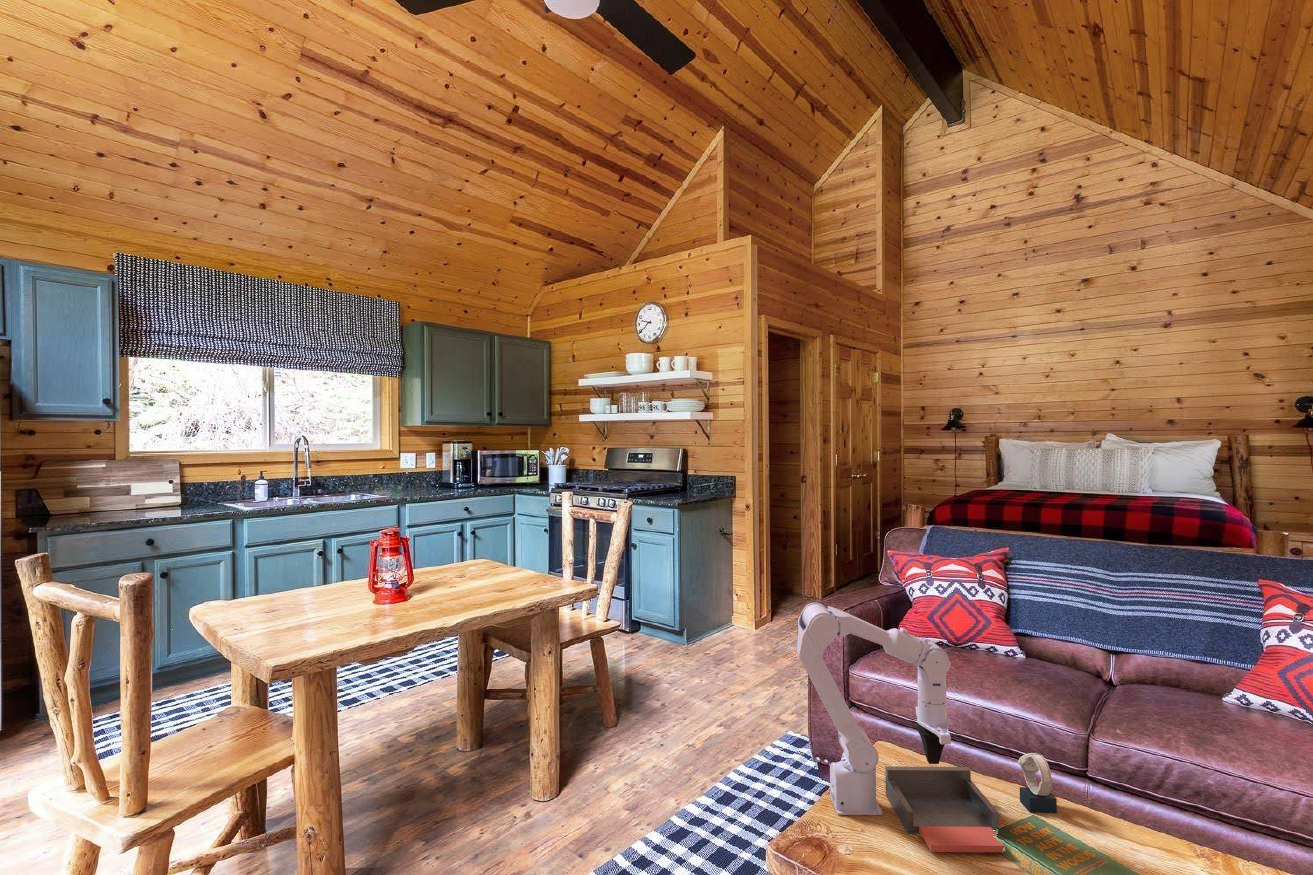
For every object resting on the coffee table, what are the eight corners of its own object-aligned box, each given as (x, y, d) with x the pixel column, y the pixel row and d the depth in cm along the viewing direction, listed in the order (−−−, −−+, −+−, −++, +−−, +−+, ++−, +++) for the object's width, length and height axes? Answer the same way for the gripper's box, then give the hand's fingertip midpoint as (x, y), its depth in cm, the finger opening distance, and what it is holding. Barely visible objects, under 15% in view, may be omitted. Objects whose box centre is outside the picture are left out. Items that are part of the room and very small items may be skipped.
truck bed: (907, 833, 130) (907, 801, 130) (885, 795, 144) (885, 766, 144) (998, 834, 129) (998, 802, 130) (967, 796, 144) (967, 766, 144)
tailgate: (919, 834, 129) (930, 853, 123) (919, 826, 129) (930, 845, 123) (990, 835, 129) (1005, 854, 123) (990, 826, 129) (1005, 845, 123)
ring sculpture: (1041, 796, 143) (1040, 747, 143) (1061, 818, 135) (1060, 765, 135) (1014, 796, 143) (1014, 746, 143) (1033, 817, 135) (1032, 764, 135)
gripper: (965, 713, 133) (966, 780, 133) (937, 686, 147) (938, 746, 147) (930, 713, 133) (931, 779, 133) (906, 686, 147) (907, 746, 147)
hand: (932, 762), depth 140 cm, fingers closed
